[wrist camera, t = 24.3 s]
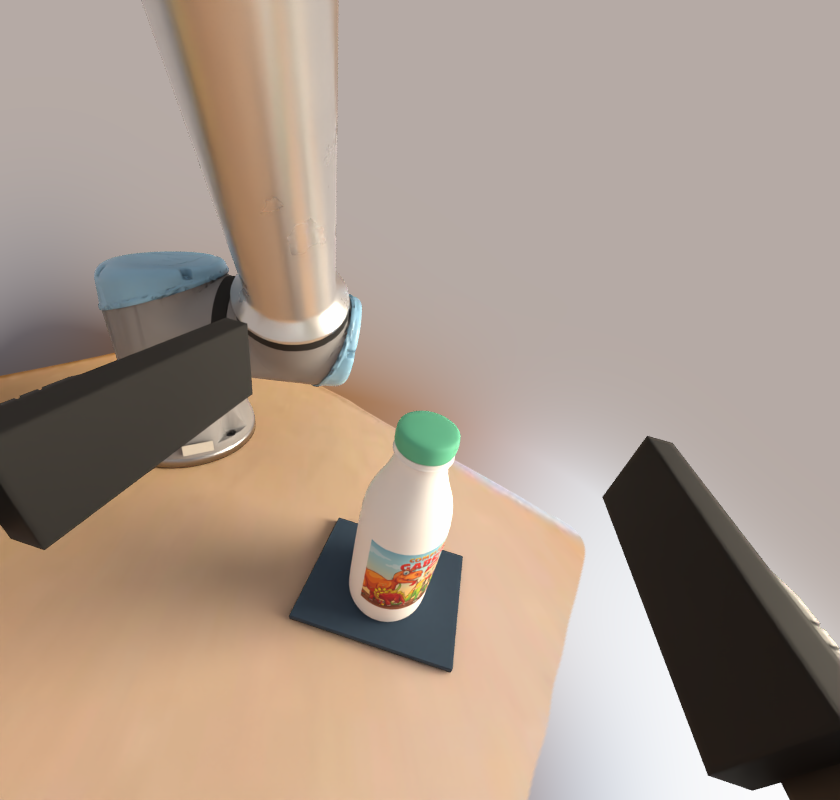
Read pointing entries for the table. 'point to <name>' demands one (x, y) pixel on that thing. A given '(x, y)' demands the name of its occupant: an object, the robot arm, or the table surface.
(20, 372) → the table surface
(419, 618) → the placemat
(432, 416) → the milk bottle
